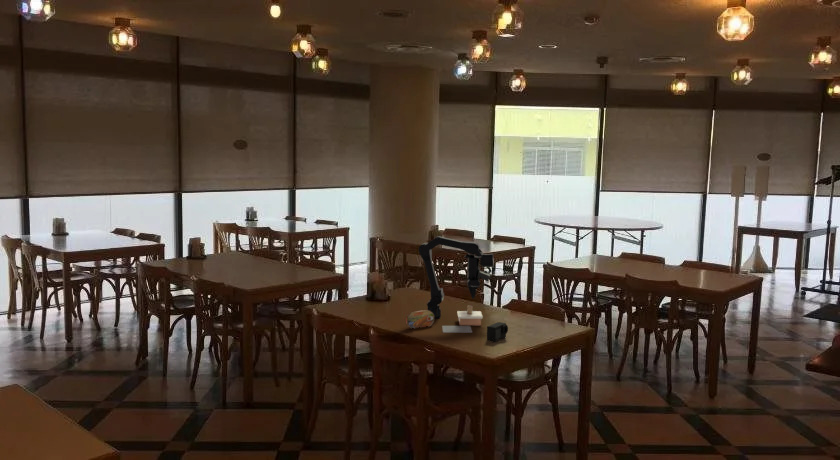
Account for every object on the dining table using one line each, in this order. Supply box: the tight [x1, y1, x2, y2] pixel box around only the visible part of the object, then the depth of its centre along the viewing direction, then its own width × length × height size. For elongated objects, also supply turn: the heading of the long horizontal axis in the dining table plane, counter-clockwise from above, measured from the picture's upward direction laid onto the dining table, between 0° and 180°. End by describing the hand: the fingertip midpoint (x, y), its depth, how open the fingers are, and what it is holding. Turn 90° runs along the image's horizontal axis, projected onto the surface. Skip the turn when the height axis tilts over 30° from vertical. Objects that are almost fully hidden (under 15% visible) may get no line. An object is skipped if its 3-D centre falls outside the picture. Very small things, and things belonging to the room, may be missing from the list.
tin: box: [405, 309, 436, 329], centre depth 352 cm, size 15×3×8 cm, turn 117°
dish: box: [458, 319, 482, 326], centre depth 360 cm, size 10×10×4 cm
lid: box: [456, 305, 484, 320], centre depth 360 cm, size 12×12×5 cm
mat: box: [441, 325, 473, 334], centre depth 348 cm, size 14×13×1 cm
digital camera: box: [486, 321, 509, 343], centre depth 330 cm, size 10×5×7 cm, turn 144°
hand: (473, 296), depth 368 cm, fingers open, 9 cm apart
